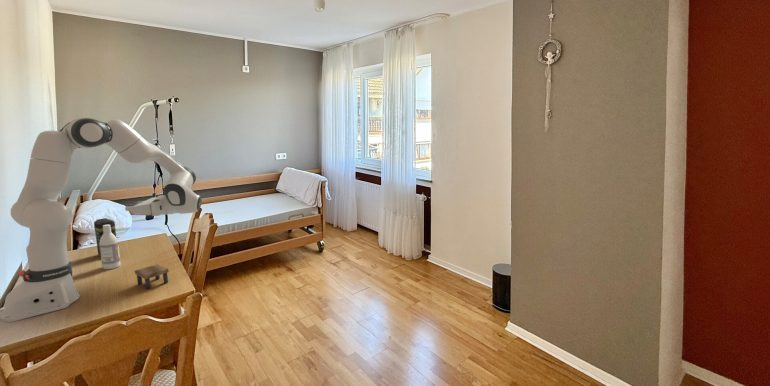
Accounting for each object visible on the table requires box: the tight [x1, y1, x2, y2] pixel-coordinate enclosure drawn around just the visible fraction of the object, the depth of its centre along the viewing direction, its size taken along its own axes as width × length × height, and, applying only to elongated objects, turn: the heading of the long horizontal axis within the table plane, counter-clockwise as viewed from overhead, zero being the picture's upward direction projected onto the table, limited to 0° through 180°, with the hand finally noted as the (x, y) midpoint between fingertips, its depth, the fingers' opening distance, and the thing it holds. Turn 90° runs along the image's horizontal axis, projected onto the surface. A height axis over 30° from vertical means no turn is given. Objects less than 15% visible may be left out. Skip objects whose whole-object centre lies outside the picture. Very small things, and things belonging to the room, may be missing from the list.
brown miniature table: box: [134, 264, 169, 290], centre depth 160 cm, size 9×9×6 cm
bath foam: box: [99, 225, 122, 270], centre depth 176 cm, size 7×7×20 cm
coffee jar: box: [93, 217, 118, 257], centre depth 192 cm, size 10×8×19 cm
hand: (131, 206), depth 174 cm, fingers open, 8 cm apart
